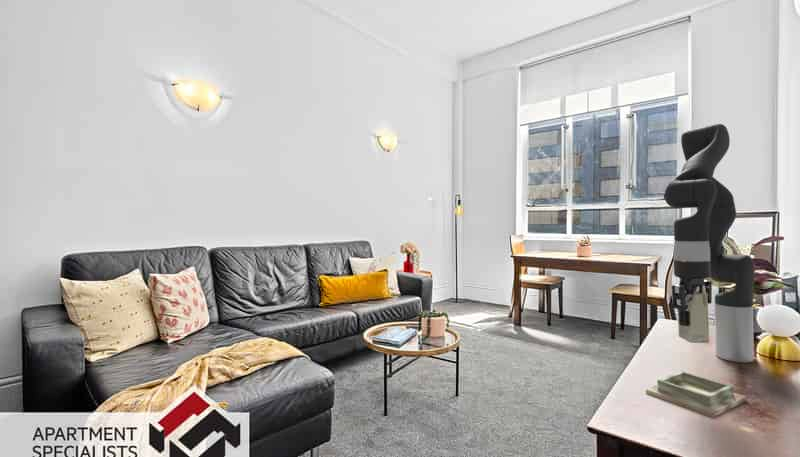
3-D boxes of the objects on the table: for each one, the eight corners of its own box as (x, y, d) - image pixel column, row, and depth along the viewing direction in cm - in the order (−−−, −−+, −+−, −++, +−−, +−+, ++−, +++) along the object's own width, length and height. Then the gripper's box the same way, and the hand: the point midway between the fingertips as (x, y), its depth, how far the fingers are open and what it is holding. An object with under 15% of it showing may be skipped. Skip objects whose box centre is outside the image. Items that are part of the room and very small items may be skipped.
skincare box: (710, 344, 96) (709, 294, 96) (690, 343, 97) (689, 294, 97) (696, 336, 102) (695, 290, 102) (677, 336, 103) (676, 290, 103)
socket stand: (680, 379, 110) (679, 367, 110) (746, 400, 97) (746, 386, 97) (646, 392, 103) (645, 379, 103) (712, 417, 89) (712, 402, 89)
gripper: (690, 255, 106) (691, 316, 106) (659, 259, 99) (661, 324, 100) (723, 257, 99) (724, 322, 99) (692, 261, 93) (694, 331, 93)
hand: (692, 323), depth 100 cm, fingers closed on skincare box, 7 cm apart
